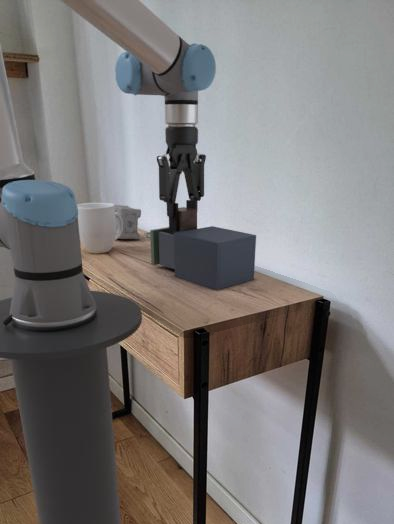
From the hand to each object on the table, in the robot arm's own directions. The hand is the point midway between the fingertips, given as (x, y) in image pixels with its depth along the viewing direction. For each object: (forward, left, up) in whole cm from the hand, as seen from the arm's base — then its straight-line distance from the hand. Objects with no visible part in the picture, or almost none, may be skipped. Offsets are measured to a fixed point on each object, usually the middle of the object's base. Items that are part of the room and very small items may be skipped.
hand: (182, 228), depth 120 cm
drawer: (0, +2, -9) cm, 9 cm away
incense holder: (0, +42, -10) cm, 43 cm away
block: (0, 0, 0) cm, 0 cm away
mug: (-12, +29, -10) cm, 33 cm away
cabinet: (+3, -11, -10) cm, 15 cm away
